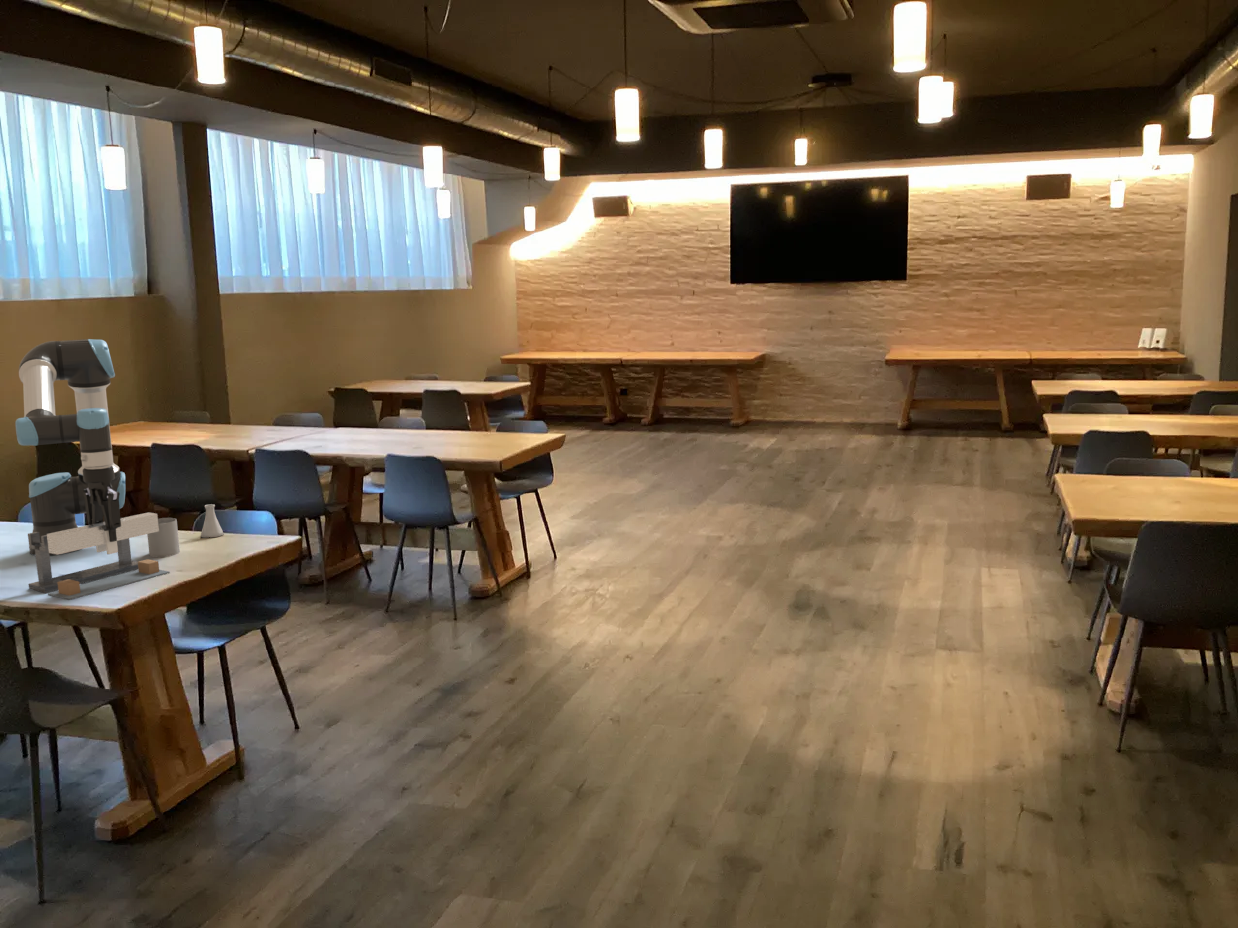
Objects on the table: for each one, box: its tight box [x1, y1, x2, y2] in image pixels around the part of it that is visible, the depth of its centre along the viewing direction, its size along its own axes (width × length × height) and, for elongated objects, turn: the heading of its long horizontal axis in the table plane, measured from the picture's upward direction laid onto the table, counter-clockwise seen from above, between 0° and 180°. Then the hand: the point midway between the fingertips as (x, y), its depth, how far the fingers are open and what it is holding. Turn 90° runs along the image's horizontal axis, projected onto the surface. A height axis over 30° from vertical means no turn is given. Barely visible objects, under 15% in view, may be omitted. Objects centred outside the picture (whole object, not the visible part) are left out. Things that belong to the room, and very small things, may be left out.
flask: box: [200, 503, 224, 538], centre depth 341 cm, size 7×7×10 cm
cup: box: [146, 517, 181, 558], centre depth 319 cm, size 8×8×10 cm
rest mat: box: [47, 558, 171, 601], centre depth 288 cm, size 10×29×3 cm, turn 147°
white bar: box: [47, 512, 159, 555], centre depth 286 cm, size 4×29×5 cm, turn 147°
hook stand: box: [27, 531, 139, 594], centre depth 293 cm, size 8×28×15 cm, turn 147°
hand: (107, 551), depth 287 cm, fingers closed on white bar, 4 cm apart
